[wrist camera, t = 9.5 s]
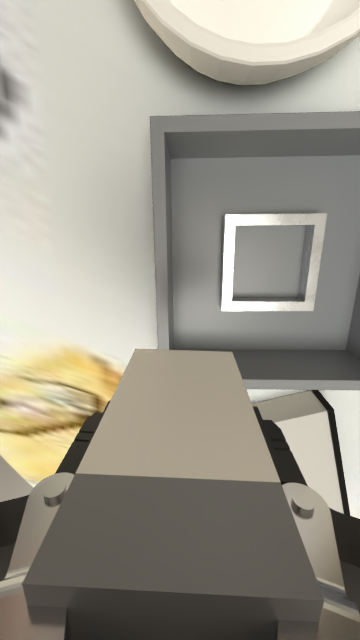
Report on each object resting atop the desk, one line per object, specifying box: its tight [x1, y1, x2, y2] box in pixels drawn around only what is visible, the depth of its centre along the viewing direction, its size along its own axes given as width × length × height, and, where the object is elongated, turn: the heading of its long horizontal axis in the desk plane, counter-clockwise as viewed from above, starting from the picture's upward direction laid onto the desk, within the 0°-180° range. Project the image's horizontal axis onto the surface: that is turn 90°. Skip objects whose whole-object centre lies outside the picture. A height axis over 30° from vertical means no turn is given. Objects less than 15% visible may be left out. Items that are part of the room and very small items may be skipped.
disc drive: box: [252, 390, 350, 516], centre depth 36 cm, size 18×22×5 cm
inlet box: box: [150, 111, 360, 390], centre depth 26 cm, size 22×22×8 cm
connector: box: [22, 349, 324, 640], centre depth 9 cm, size 4×4×9 cm
